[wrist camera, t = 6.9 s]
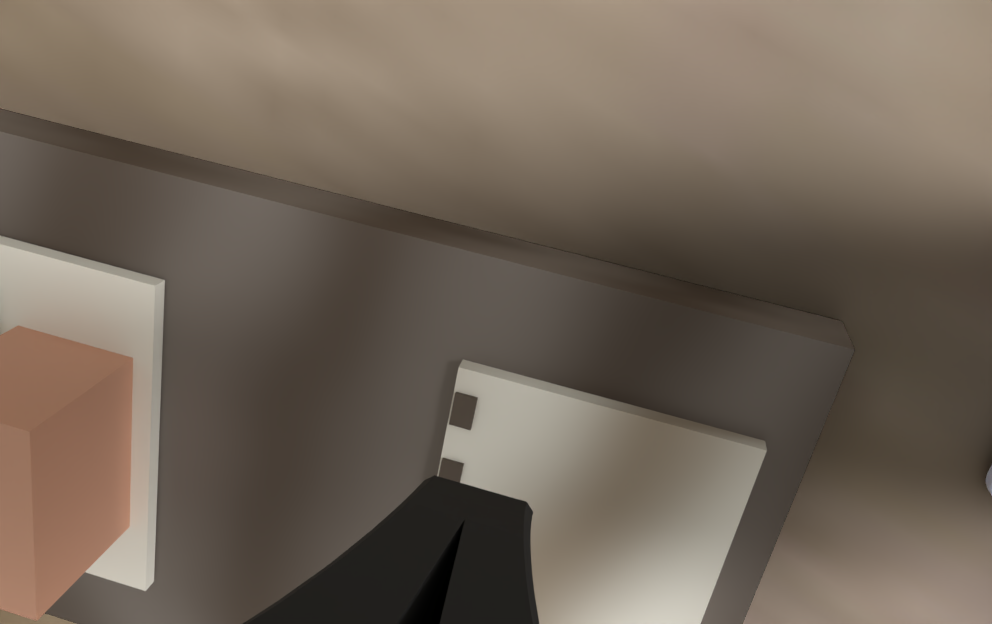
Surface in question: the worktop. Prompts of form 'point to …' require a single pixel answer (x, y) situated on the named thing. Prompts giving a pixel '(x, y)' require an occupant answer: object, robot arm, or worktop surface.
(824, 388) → the ticket board
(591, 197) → the worktop surface
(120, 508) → the stub
